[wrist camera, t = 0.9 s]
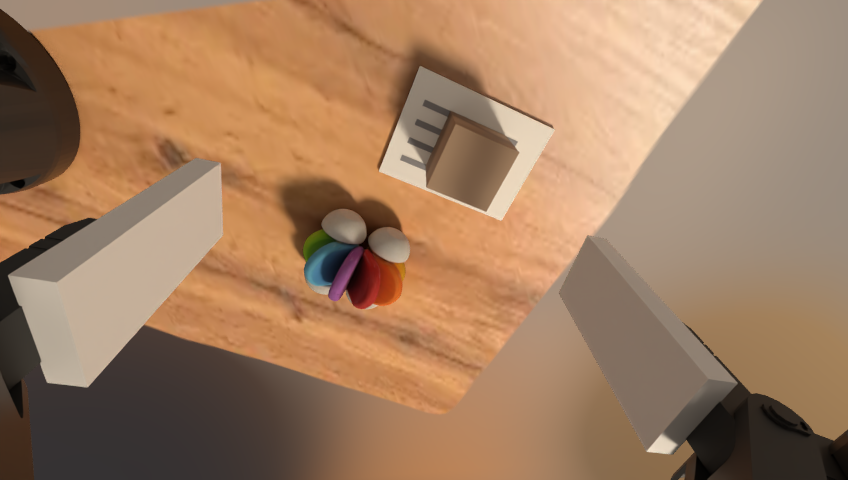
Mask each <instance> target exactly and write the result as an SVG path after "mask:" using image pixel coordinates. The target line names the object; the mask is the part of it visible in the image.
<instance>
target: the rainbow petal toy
mask: <svg viewBox="0 0 848 480" xmlns="http://www.w3.org/2000/svg"><path fill="white" fill-rule="evenodd" d="M322 228H323V229H322V230H319V231H316V232H314V233H313V234H311V235H310V236H309V237H308V238H307V239H306V241H305V243H304V246H303V255H304V258H305V260H306V264H305V267H304V275H305V280H306V283H307V284H308V286H309V287H310V288H311V289H312V290H313V291H315V292H317V293H320V294H328V297H329V298H330V299H331V300H333V301H338V300H339V299H340V298H341V296H342V295H343V293H344V292H345V290H346V295H347V297H348V299H349V301H350V302H351V303H352V304H353V305H354V306H355V307H356V308H359V309H371V308H374V307H376V306H378V305H379V306H385V305H389V304H391V303H393V302H395V301H396V300H397V299H398V298H399V297H400V295H401V292H402V281H403V280H404V277H405V265H404V262H405V261H406V260H407V259H408V257H409V254H410V245H409V241H408V239H407V237H406V236H405V235H404V234H403V233H402V232H401V231H399V230H398V229H395V228H392V227H383V228H380V229H377V230H376V231H374V232H373V233H372V234H371V235H370V236H369V237H368V243H369V247H368V248H367V249H366V250H364V249H363V247H361V246H359V244H361V243H363V242H364V240H365V239H366V237H367V229H366V225H365V222H364V220H363V219H362V218H361V216H360V215H359V214H357V213H356V212H354V211H352V210H349V209H337V210H334V211H332V212H330V213H329V214H327V215H326V216H325V218H324V219H323V221H322Z"/></svg>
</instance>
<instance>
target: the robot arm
mask: <svg viewBox="0 0 848 480" xmlns="http://www.w3.org/2000/svg"><path fill="white" fill-rule="evenodd" d="M79 142H80V122H79V116H78V111H77V108H76V104H75V101H74V99H73V96H72V94H71V91H70V89H69V87H68V85H67V83H66V81H65V79H64V77H63V76H62V74H61V72H60V71H59V69H58V68H57V66H56V64H55V63H54V62H53V60H52V59H51V57H50V56H49V55H48V54H47V52H46V51H45V50H44V49H43V48H42V46H41V45H40V44H39V43H38V42H37V41H36V40H35V39H34V38H33V37H32V35H31V34H30V33H29V32H27V31H26V30H25V29H24V28H23V27H22V26H21V25H20V24H19V23H18V22H16V21H15V20H14V19H13V18H12V17H10V16H9V15H8V14H7V13H5V12H4V11H2V10H1V9H0V194H9V193H15V192H20V191H24V190H27V189H30V188H33V187H35V186H38V185H40V184H43V183H45V182H48V181H50V180H52V179H54V178H56V177H58V176H59V175H61V174H62V173H63V172H64V171H65V170H66V169H67V168H68V167H69V166H70V165H71V163H72V162H73V160H74V158H75V156H76V154H77V151H78V147H79ZM222 236H223V218H222V187H221V163H219V162H214V161H209V160H204V159H199V158H195V159H194V160H192V161H190V162H189V163H187V164H186V165H184V166H182V167H181V168H179V169H178V170H176V171H174V172H173V173H171V174H169V175H168V176H166V177H165V178H163V179H161V180H160V181H158V182H157V183H155V184H153V185H152V186H150V187H149V188H147V189H145V190H144V191H142V192H141V193H139V194H137V195H136V196H134V197H133V198H131V199H129V200H128V201H126V202H124V203H123V204H121V205H120V206H118V207H116V208H115V209H113V210H112V211H110V212H108V213H107V214H105V215H104V216H102V217H100V218H99V219H93V218H87V219H84V220H81V221H77V222H74V223H71V224H68V225H65V226H63V227H61V228H59V229H57V230H56V231H54V232H52V233H51V234H49V235H47V236H45V239H40V240H39V241H37V242H35V243H33V244H32V245H30V246H29V248H28V249H23V250H21V251H20V252H18V253H16V254H14V255H13V256H11V257H9V258H8V259H6V260H4V261H2V262H1V263H0V480H34V470H33V457H32V444H31V430H30V417H29V403H28V390H27V387H26V384H25V382H24V380H23V378H24V377H25V376H26V375H27V374H28V373H29V372H30V371H31V370H33V369H34V368H35V367H36V366H37V365H38V364H39V363H40V364H41V367H42V370H43V373H44V375H45V378H46V381H47V383H55V384H64V385H72V386H81V387H88V386H89V385H90V384H91V383H92V382H93V381H94V379H95V378H96V377H97V376H98V375H99V374H100V373H101V372H102V371H103V369H104V368H105V367H106V366H107V365H108V364H109V362H111V360H112V359H113V358H114V357H115V356H116V355H117V354H118V353H119V352H120V350H121V349H122V348H123V347H124V346H125V345H126V344H127V343H128V341H129V340H130V339H131V338H132V337H133V336H134V335H135V334H136V332H137V331H138V330H139V329H140V328H141V327H142V326H143V325H144V323H145V322H146V321H147V320H148V319H149V318H150V317H151V316H152V314H153V313H154V312H155V311H156V310H157V309H158V308H159V307H160V305H161V304H162V303H163V302H164V301H165V300H166V299H167V298H168V296H169V295H170V294H171V293H172V292H173V291H174V290H175V289H176V287H177V286H178V285H179V284H180V283H181V282H182V281H183V280H184V278H185V277H186V276H187V275H188V274H189V273H190V272H191V271H192V269H193V268H194V267H195V266H196V265H197V264H198V263H199V262H200V260H201V259H202V258H203V257H204V256H205V255H206V254H207V253H208V251H209V250H210V249H211V248H212V247H213V246H214V245H215V244H216V242H217V241H218V240H219V239H220V238H221V237H222ZM559 294H560V296H561V298H562V300H563V302H564V303H565V305H566V307H567V309H568V311H569V312H570V314H571V316H572V318H573V320H574V322H575V323H576V325H577V327H578V329H579V330H580V332H581V334H582V336H583V338H584V340H585V341H586V343H587V345H588V347H589V349H590V350H591V352H592V354H593V356H594V358H595V360H596V361H597V363H598V365H599V367H600V368H601V370H602V372H603V374H604V376H605V378H606V379H607V381H608V383H609V385H610V386H611V388H612V390H613V392H614V394H615V396H616V397H617V399H618V401H619V403H620V405H621V406H622V408H623V410H624V412H625V414H626V415H627V417H628V419H629V421H630V423H631V424H632V426H633V428H634V430H635V431H636V434H637V435H638V437H639V439H640V441H641V442H642V444H643V446H644V448H645V450H646V451H647V452H655V453H664V454H674V453H675V452H676V450H677V449H678V448H679V447H680V446H681V445H682V444H683V443H684V442H685V441H686V440H687V441H688V443H689V444H690V445H691V447H692V449H693V450H694V453H693V454H692V455H691V457H690V458H689V459H688V460H687V461H686V462H685V463H684V464H683V465H682V466H681V467H680V468H679V469H678V470H677V471H676V472H675V473H674V474H673V476H672V478H671V480H678V479H679V478H682V477H685V480H848V430H847V431H845V432H844V433H843V434H842V435H841V436H839V437H838V438H837V439H836V440H835V441H833V440H830V439H828V438H825V437H822V436H820V435H817V434H815V433H814V432H813V431H812V429H811V428H810V427H809V425H808V424H807V423H806V422H805V421H804V420H803V419H802V418H801V417H800V416H798V415H797V414H796V413H795V412H794V411H792V410H791V409H790V408H788V407H786V406H785V405H783V404H782V403H780V402H779V401H777V400H774V399H772V398H770V397H768V396H765V395H761V394H757V393H756V394H751V393H750V392H749V391H748V390H747V389H746V388H745V387H744V385H742V383H741V382H740V381H739V380H738V379H737V378H736V377H735V376H734V375H733V374H732V373H731V371H730V370H729V369H728V368H727V367H726V366H725V365H724V364H723V363H722V362H721V361H720V359H719V358H718V357H717V356H714V355H713V354H714V353H713V352H712V351H711V350H710V349H709V348H708V346H707V345H704V344H703V343H704V342H703V341H702V340H701V339H700V338H699V337H698V336H697V335H696V334H695V332H694V331H693V330H692V329H691V328H689V327H688V326H687V325H685V324H684V323H683V322H681V320H680V319H679V318H678V317H677V316H676V315H675V314H674V313H673V312H672V311H671V310H670V308H669V307H668V306H667V305H666V304H665V303H664V302H663V301H662V300H661V299H660V297H659V296H658V295H657V294H656V293H655V292H654V291H653V290H652V289H651V288H650V286H648V284H647V283H646V282H645V281H644V280H643V279H642V278H641V277H640V276H639V275H638V273H637V272H636V271H635V270H634V269H633V268H632V267H631V266H630V265H629V263H628V262H627V261H626V260H625V259H624V258H623V257H622V256H621V255H620V254H619V253H618V252H617V250H616V249H615V248H614V247H613V246H612V245H611V244H610V243H609V242H608V241H607V239H604V238H598V237H594V236H589V235H587V237H586V239H585V241H584V243H583V245H582V247H581V249H580V251H579V253H578V255H577V257H576V259H575V261H574V263H573V266H572V268H571V269H570V271H569V274H568V276H567V277H566V280H565V282H564V284H563V285H562V288H561V289H560V291H559Z"/></svg>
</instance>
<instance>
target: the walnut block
mask: <svg viewBox="0 0 848 480" xmlns="http://www.w3.org/2000/svg"><path fill="white" fill-rule="evenodd" d="M518 154H519V151H518V150H517V149H516V148H515V146H514V145H513V144H512V143H511V142H510V140H509V139H508V138H507V137H506V135H503V134H501V133H499V132H497V131H495V130H493V129H490V128H488V127H486V126H484V125H482V124H479V123H477V122H475V121H473V120H471V119H468V118H466V117H464V116H462V115H460V114H457V113H455V112H453V111H450V113H449V115H448V117H447V119H446V122H445V124H444V126H443V128H442V131H441V133H440V135H439V137H438V140H437V142H436V144H435V146H434V149H433V151H432V153H431V155H430V157H429V160H428V162H427V164H426V188H429V189H431V190H434V191H436V192H438V193H441V194H443V195H446V196H448V197H451V198H453V199H456V200H458V201H461V202H463V203H466V204H468V205H471V206H473V207H476V208H478V209H480V210H483V211H485V212H486V211H487V210H488V208H489V206H490V204H491V203H492V201H493V199H494V197H495V195H496V194H497V192H498V190H499V188H500V187H501V185H502V183H503V181H504V179H505V178H506V176H507V174H508V172H509V170H510V169H511V167H512V165H513V163H514V162H515V160H516V158H517V156H518Z"/></svg>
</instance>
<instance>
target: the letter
mask: <svg viewBox="0 0 848 480" xmlns="http://www.w3.org/2000/svg"><path fill="white" fill-rule="evenodd" d="M450 111H453V112H455V113H457V114H460V115H462V116H464V117H466V118H468V119H471V120H473V121H475V122H477V123H479V124H482V125H484V126H486V127H488V128H490V129H493V130H495V131H497V132H499V133H501V134H503V135H506V137H507V138H508V139H509V140H510V142H511V143H512V144H513V145H514V146H515V148H516V149H517V150H518V151H519V154H518V156H517V158H516V160H515V162H514V163H513V165H512V167H511V169H510V170H509V172H508V174H507V176H506V178H505V179H504V181H503V183H502V185H501V187H500V188H499V190H498V192H497V194H496V195H495V197H494V199H493V201H492V203H491V204H490V206H489V208H488V210H487V211H486V212H485V211H483V210H480V209H478V208H476V207H473V206H471V205H468V204H466V203H463V202H461V201H458V200H456V199H453V198H451V197H448V196H446V195H443V194H441V193H438V192H436V191H434V190H431V189H429V188H426V164H427V162H428V160H429V157H430V155H431V153H432V151H433V149H434V146H435V144H436V142H437V140H438V137H439V135H440V133H441V131H442V128H443V126H444V124H445V122H446V119H447V117H448V115H449V113H450ZM554 130H555V129H553V128H551V127H549V126H547V125H545V124H542V123H540V122H538V121H536V120H534V119H532V118H530V117H528V116H525V115H523V114H521V113H519V112H517V111H515V110H513V109H511V108H509V107H506V106H504V105H502V104H500V103H498V102H496V101H494V100H492V99H490V98H487V97H485V96H483V95H481V94H479V93H477V92H475V91H473V90H471V89H468V88H466V87H464V86H462V85H460V84H458V83H456V82H454V81H451V80H449V79H447V78H445V77H443V76H441V75H439V74H437V73H435V72H432V71H430V70H428V69H426V68H424V67H422V66H420V67H419V69H418V72H417V74H416V77H415V80H414V82H413V85H412V87H411V90H410V92H409V95H408V98H407V100H406V103H405V105H404V108H403V110H402V113H401V116H400V118H399V121H398V123H397V126H396V128H395V131H394V134H393V136H392V139H391V141H390V144H389V146H388V149H387V152H386V154H385V157H384V159H383V162H382V164H381V167H380V169H379V172H382V173H384V174H387V175H389V176H392V177H394V178H397V179H399V180H401V181H404V182H406V183H409V184H411V185H414V186H416V187H419V188H421V189H424V190H426V191H429V192H431V193H434V194H436V195H439V196H441V197H444V198H446V199H449V200H451V201H454V202H456V203H459V204H461V205H464V206H466V207H468V208H471V209H473V210H476V211H478V212H481V213H483V214H486V215H488V216H491V217H493V218H496V219H498V220H502V219H503V217H504V215H505V214H506V212H507V210H508V209H509V207H510V205H511V203H512V202H513V200H514V198H515V197H516V195H517V193H518V192H519V190H520V188H521V186H522V185H523V183H524V181H525V180H526V178H527V176H528V175H529V173H530V171H531V169H532V168H533V166H534V164H535V163H536V161H537V159H538V158H539V156H540V154H541V152H542V151H543V149H544V147H545V146H546V144H547V142H548V141H549V139H550V137H551V135H552V134H553V132H554Z"/></svg>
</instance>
